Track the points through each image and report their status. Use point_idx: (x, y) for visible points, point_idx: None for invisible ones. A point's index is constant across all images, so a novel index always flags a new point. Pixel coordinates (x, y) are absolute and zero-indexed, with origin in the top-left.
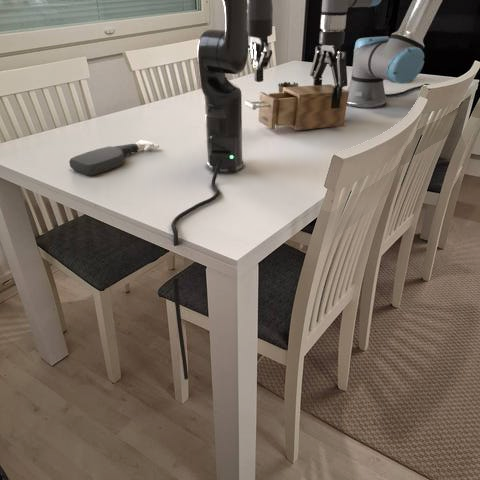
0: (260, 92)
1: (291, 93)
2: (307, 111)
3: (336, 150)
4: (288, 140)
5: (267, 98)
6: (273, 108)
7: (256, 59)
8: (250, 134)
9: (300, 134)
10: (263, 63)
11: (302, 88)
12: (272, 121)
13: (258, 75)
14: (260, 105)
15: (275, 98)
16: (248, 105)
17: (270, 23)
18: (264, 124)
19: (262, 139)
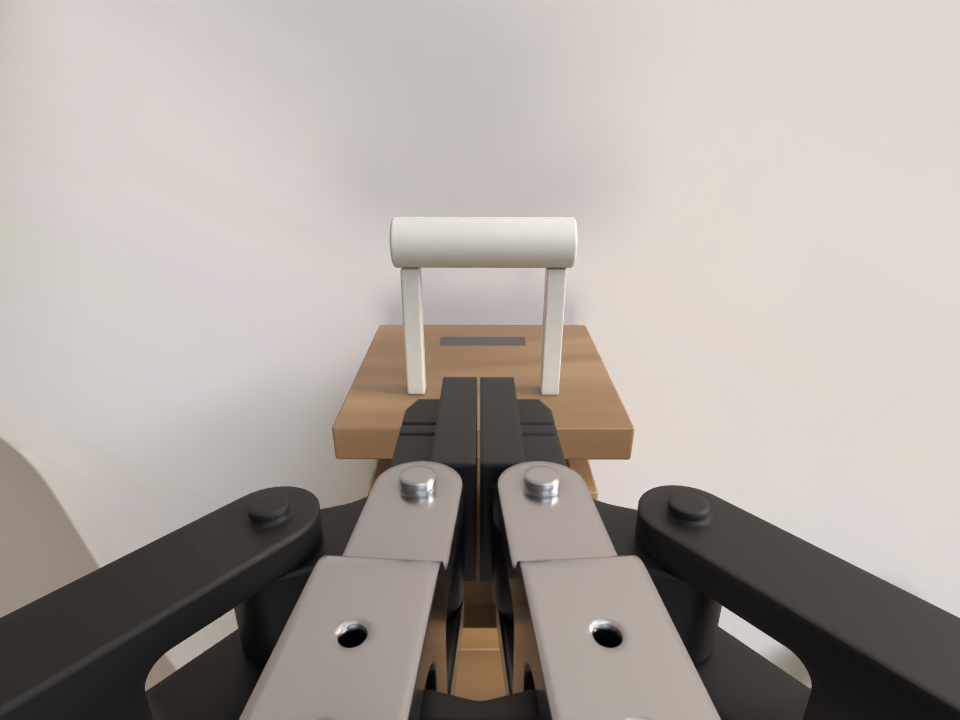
0: (632, 432)
1: (471, 632)
2: None
3: (67, 505)
4: (287, 369)
5: None
6: (349, 393)
7: (317, 580)
8: (486, 207)
9: (358, 470)
10: (244, 622)
11: None
12: (369, 348)
13: (406, 431)
14: (410, 311)
15: None
16: (483, 217)
17: None
18: (487, 325)
19: (361, 237)
